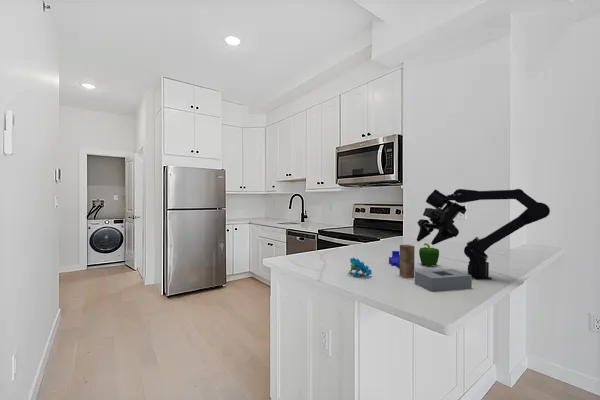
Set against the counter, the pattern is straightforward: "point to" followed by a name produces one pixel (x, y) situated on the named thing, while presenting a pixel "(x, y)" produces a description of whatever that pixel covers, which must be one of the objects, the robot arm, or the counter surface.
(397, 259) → the blue stepped arch
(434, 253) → the bell pepper
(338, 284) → the counter surface
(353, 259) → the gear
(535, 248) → the counter surface
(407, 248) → the walnut peg
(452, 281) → the grey socket block
